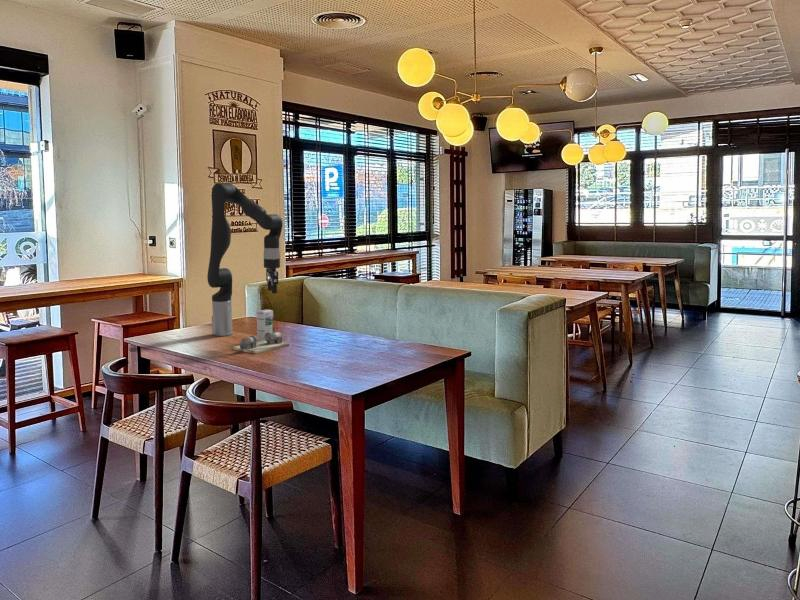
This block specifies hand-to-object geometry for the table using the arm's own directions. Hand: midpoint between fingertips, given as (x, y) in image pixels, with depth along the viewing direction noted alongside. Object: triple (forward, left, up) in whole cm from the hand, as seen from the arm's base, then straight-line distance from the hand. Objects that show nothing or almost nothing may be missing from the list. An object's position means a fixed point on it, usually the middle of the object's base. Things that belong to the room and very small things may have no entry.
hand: (272, 291), depth 294 cm
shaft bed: (+5, -13, -24) cm, 27 cm away
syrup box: (-6, 0, -24) cm, 25 cm away
